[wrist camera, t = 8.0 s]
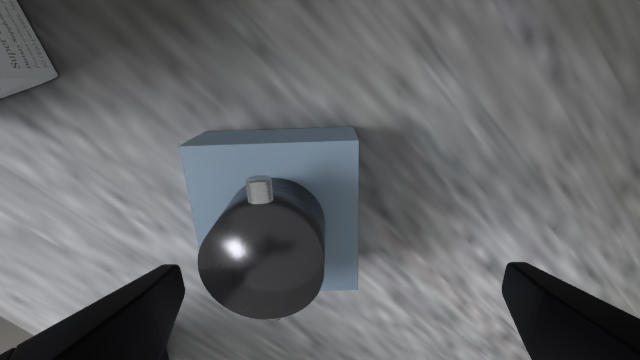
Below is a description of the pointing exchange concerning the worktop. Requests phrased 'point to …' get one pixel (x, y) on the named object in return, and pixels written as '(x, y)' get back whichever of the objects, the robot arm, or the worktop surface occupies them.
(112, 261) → the worktop surface
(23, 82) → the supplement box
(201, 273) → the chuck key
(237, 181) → the block
